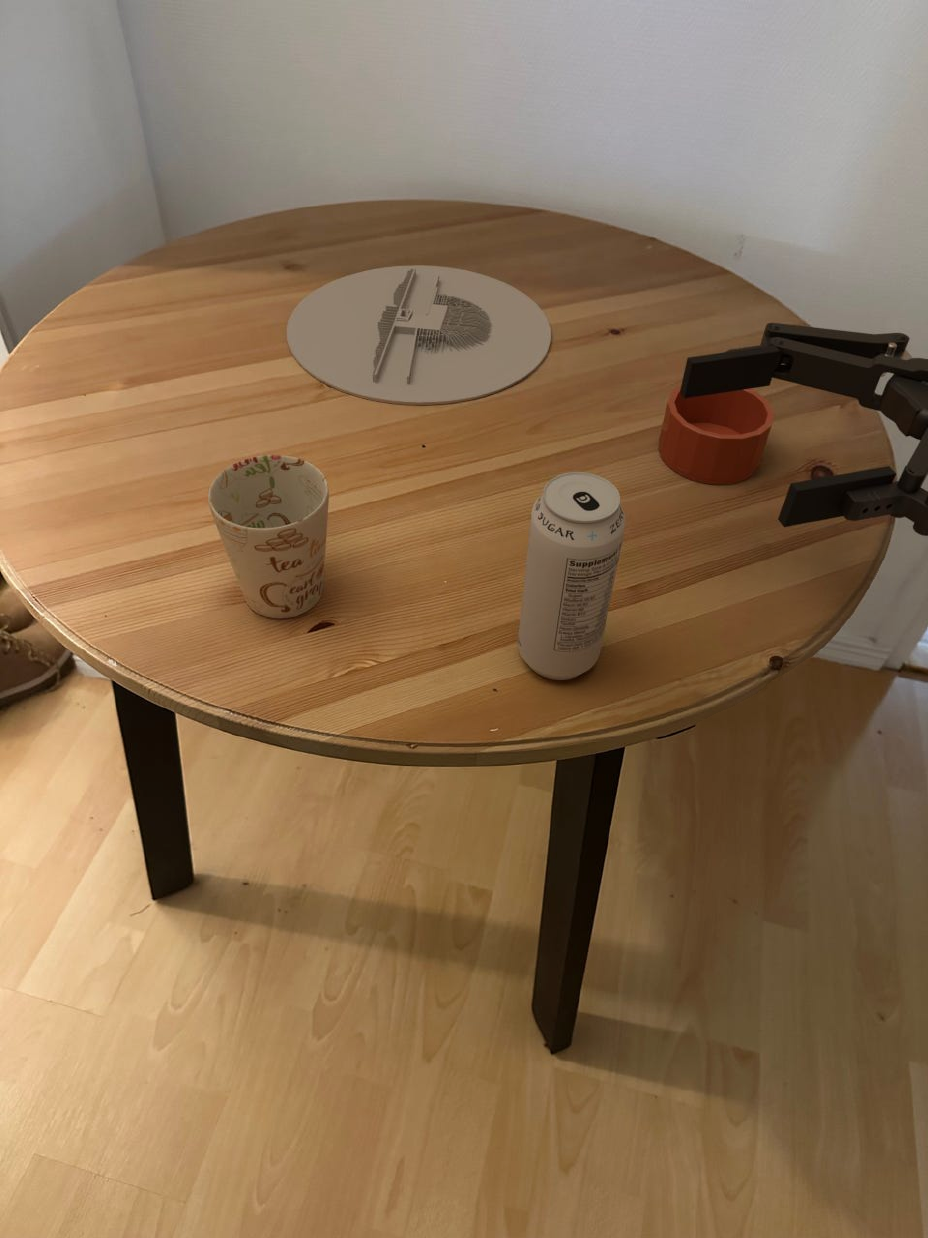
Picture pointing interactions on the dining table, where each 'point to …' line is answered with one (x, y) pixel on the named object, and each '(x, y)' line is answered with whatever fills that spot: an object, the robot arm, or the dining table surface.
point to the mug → (273, 531)
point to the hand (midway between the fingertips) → (732, 437)
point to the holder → (715, 435)
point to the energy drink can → (570, 574)
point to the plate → (418, 335)
